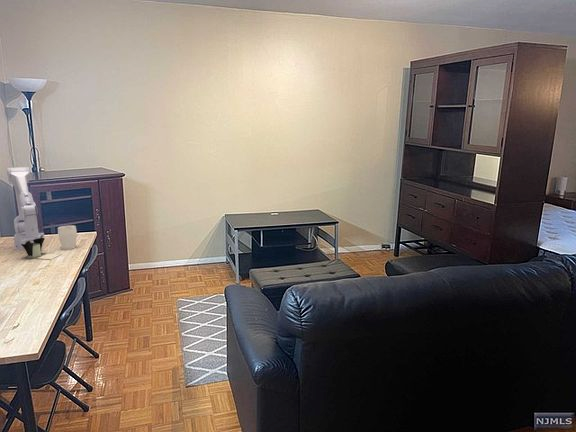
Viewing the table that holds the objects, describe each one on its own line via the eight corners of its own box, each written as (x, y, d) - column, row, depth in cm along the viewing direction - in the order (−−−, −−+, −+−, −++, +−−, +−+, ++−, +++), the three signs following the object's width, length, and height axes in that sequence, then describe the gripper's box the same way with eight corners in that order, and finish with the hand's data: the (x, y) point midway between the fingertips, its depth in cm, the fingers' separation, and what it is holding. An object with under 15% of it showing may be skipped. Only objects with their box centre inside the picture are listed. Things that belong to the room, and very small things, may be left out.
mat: (21, 259, 213) (21, 257, 212) (33, 253, 221) (33, 252, 221) (50, 260, 211) (50, 259, 211) (62, 255, 219) (62, 254, 219)
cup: (72, 251, 227) (70, 229, 224) (56, 250, 227) (53, 229, 224) (81, 246, 235) (79, 225, 233) (65, 245, 236) (63, 225, 233)
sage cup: (26, 257, 214) (24, 245, 213) (33, 253, 219) (32, 242, 218) (35, 257, 213) (34, 246, 212) (43, 254, 219) (41, 243, 217)
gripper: (28, 232, 206) (31, 258, 209) (48, 224, 220) (51, 249, 223) (15, 231, 206) (18, 257, 210) (35, 224, 221) (38, 249, 224)
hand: (34, 253), depth 216 cm, fingers open, 6 cm apart
